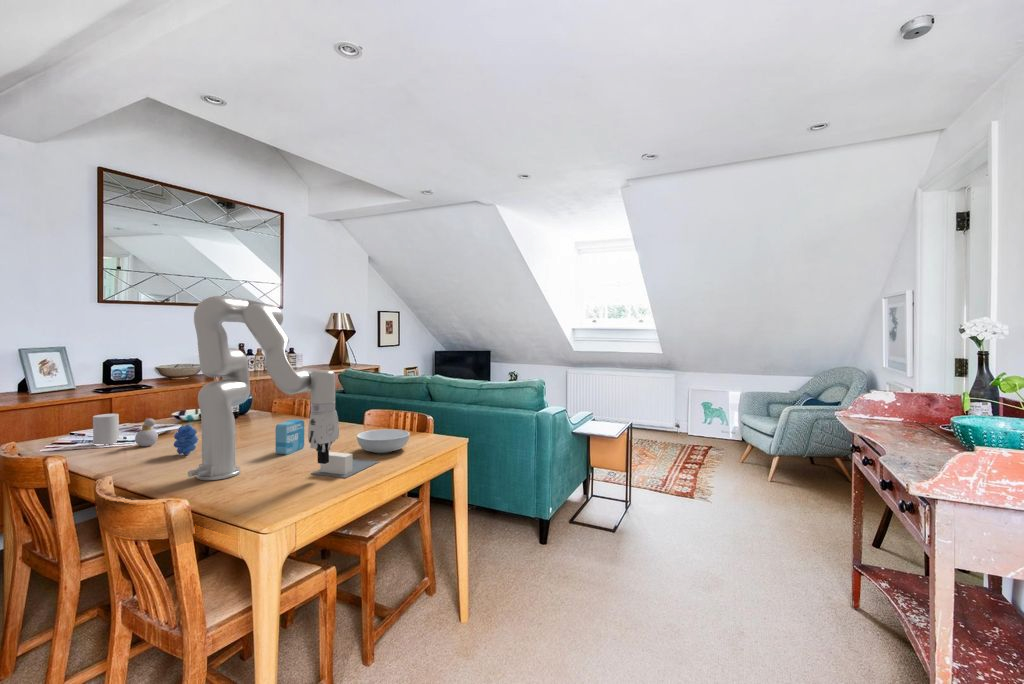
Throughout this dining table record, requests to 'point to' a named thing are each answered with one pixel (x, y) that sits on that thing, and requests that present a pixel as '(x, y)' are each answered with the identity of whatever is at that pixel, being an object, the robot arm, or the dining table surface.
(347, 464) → the white rectangular block
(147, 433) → the perfume bottle
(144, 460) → the dining table surface
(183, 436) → the grapes
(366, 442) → the serving bowl
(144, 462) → the dining table surface
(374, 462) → the mat
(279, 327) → the robot arm
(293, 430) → the data package
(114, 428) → the cup
